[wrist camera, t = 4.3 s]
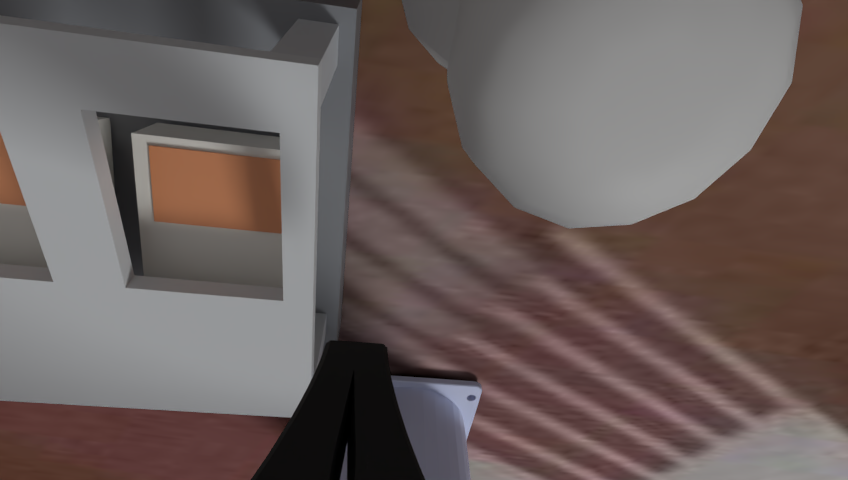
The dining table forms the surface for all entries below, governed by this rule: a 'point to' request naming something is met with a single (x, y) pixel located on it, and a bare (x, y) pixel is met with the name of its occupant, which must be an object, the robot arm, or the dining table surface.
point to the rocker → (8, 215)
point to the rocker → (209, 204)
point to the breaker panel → (118, 211)
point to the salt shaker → (608, 95)
